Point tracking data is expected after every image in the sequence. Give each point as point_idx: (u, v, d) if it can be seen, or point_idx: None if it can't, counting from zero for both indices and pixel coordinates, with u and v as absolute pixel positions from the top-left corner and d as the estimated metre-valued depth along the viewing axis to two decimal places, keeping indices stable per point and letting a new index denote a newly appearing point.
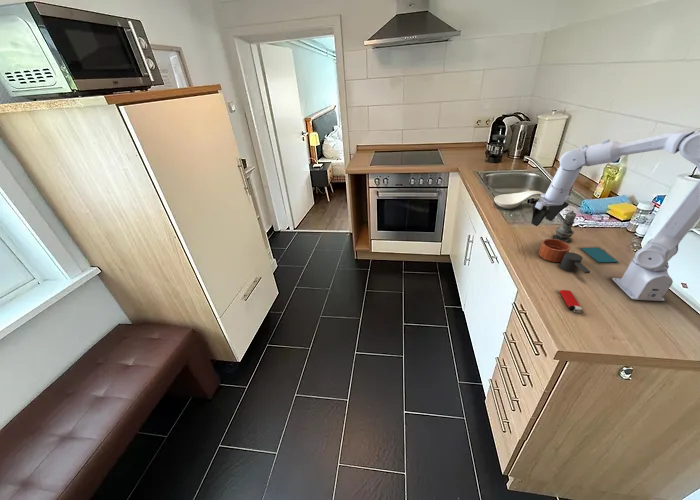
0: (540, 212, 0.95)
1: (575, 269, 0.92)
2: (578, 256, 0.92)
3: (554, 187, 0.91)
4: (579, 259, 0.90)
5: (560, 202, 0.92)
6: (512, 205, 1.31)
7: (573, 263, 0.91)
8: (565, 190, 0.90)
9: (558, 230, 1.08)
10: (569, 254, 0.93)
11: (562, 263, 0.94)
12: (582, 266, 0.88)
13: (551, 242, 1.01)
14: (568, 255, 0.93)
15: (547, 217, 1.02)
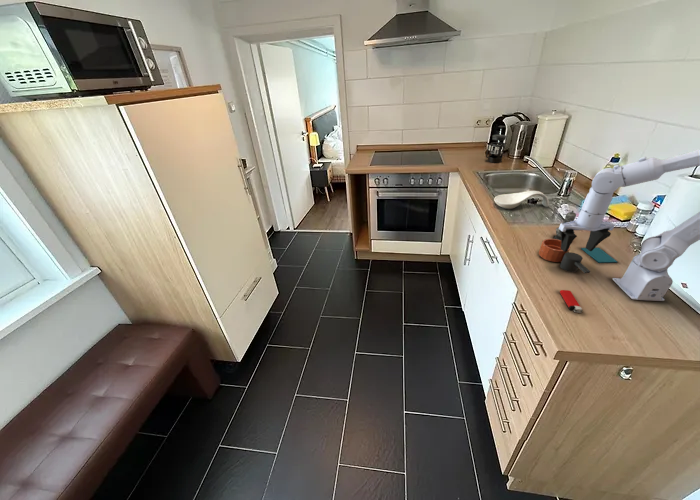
0: None
1: (575, 269, 0.92)
2: (578, 256, 0.92)
3: (583, 210, 0.84)
4: (579, 259, 0.90)
5: (590, 227, 0.84)
6: (512, 205, 1.31)
7: (573, 263, 0.91)
8: (594, 214, 0.82)
9: (558, 230, 1.08)
10: (569, 254, 0.93)
11: (562, 263, 0.94)
12: (582, 266, 0.88)
13: (551, 242, 1.01)
14: (568, 255, 0.93)
15: (587, 246, 0.91)
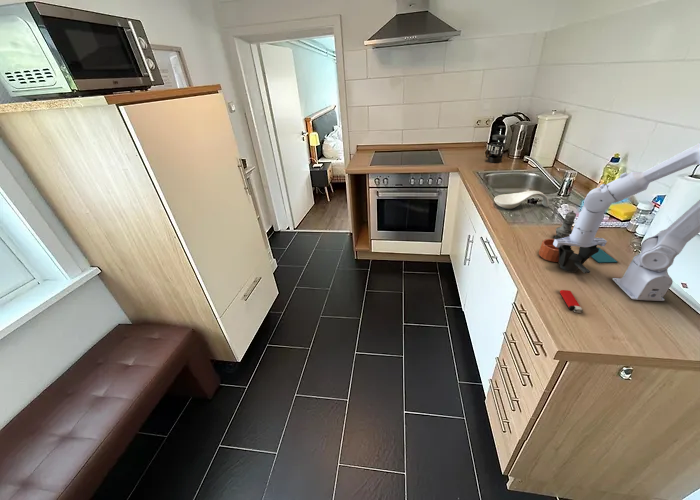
0: None
1: (575, 269, 0.92)
2: (578, 256, 0.92)
3: (576, 227, 0.87)
4: (579, 259, 0.90)
5: (583, 244, 0.87)
6: (512, 205, 1.31)
7: (573, 263, 0.91)
8: (587, 231, 0.85)
9: (558, 230, 1.08)
10: None
11: None
12: (582, 266, 0.88)
13: (551, 242, 1.01)
14: None
15: None
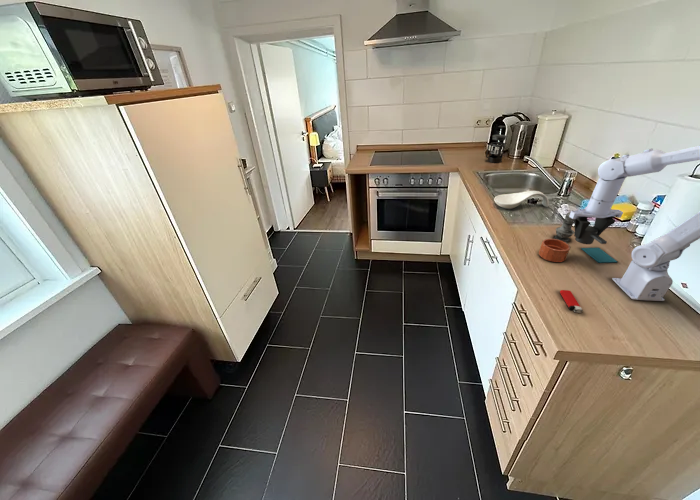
0: None
1: (591, 241, 0.93)
2: (594, 228, 0.93)
3: (592, 198, 0.88)
4: (595, 231, 0.91)
5: (600, 214, 0.87)
6: (512, 205, 1.31)
7: (589, 235, 0.92)
8: (604, 201, 0.85)
9: (558, 230, 1.08)
10: None
11: None
12: (598, 237, 0.89)
13: (551, 242, 1.01)
14: None
15: None
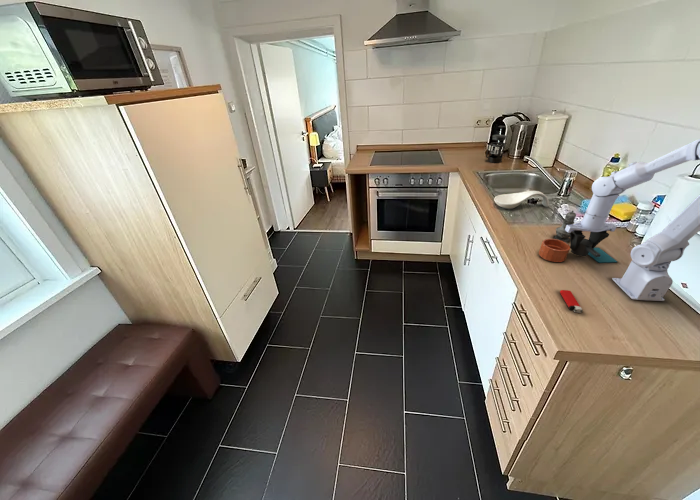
0: None
1: (586, 253, 0.97)
2: (588, 241, 0.96)
3: (587, 212, 0.91)
4: (590, 244, 0.95)
5: (594, 229, 0.91)
6: (512, 205, 1.31)
7: (584, 248, 0.96)
8: (598, 216, 0.89)
9: (558, 230, 1.08)
10: None
11: None
12: (592, 250, 0.93)
13: (551, 242, 1.01)
14: None
15: None
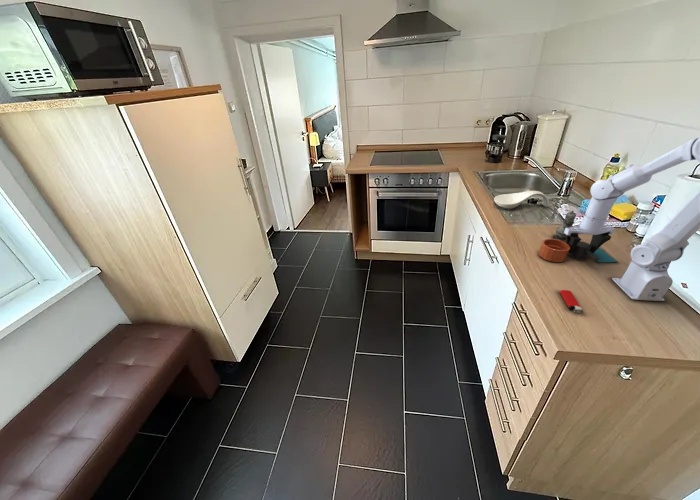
0: None
1: (584, 257, 0.97)
2: (587, 244, 0.97)
3: (586, 215, 0.92)
4: (588, 247, 0.96)
5: (593, 231, 0.92)
6: (512, 205, 1.31)
7: (582, 251, 0.96)
8: (596, 219, 0.90)
9: (558, 230, 1.08)
10: None
11: None
12: (591, 253, 0.94)
13: (551, 242, 1.01)
14: (578, 243, 0.98)
15: None
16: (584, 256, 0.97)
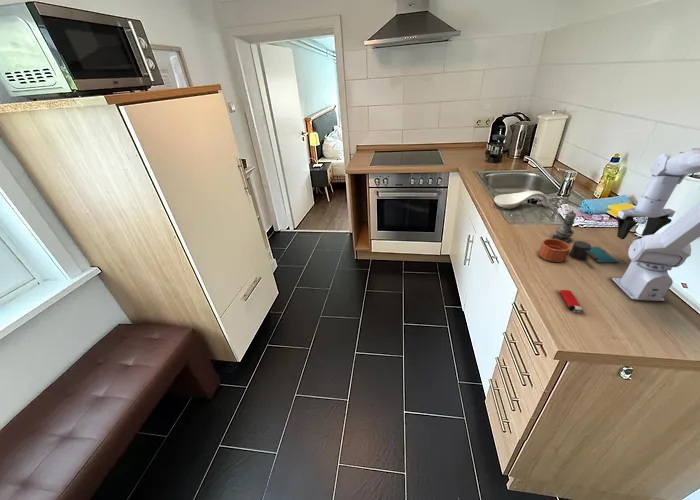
0: None
1: (584, 257, 0.97)
2: (587, 244, 0.97)
3: (644, 196, 0.84)
4: (588, 247, 0.96)
5: (652, 214, 0.84)
6: (512, 205, 1.31)
7: (582, 251, 0.96)
8: (657, 200, 0.82)
9: (558, 230, 1.08)
10: (578, 242, 0.99)
11: (572, 251, 0.99)
12: (591, 253, 0.94)
13: (551, 242, 1.01)
14: (578, 243, 0.98)
15: (644, 234, 0.91)
16: (584, 256, 0.97)
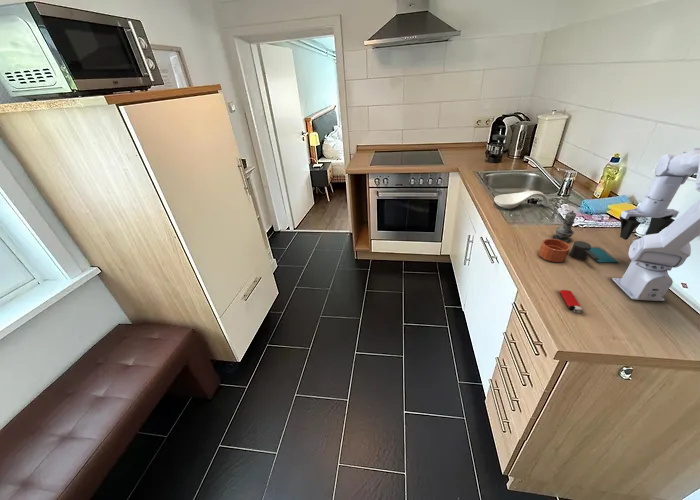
0: None
1: (584, 257, 0.97)
2: (587, 244, 0.97)
3: (647, 196, 0.84)
4: (588, 247, 0.96)
5: (655, 214, 0.83)
6: (512, 205, 1.31)
7: (582, 251, 0.96)
8: (661, 200, 0.81)
9: (558, 230, 1.08)
10: (578, 242, 0.99)
11: (572, 251, 0.99)
12: (591, 253, 0.94)
13: (551, 242, 1.01)
14: (578, 243, 0.98)
15: (647, 234, 0.90)
16: (584, 256, 0.97)
